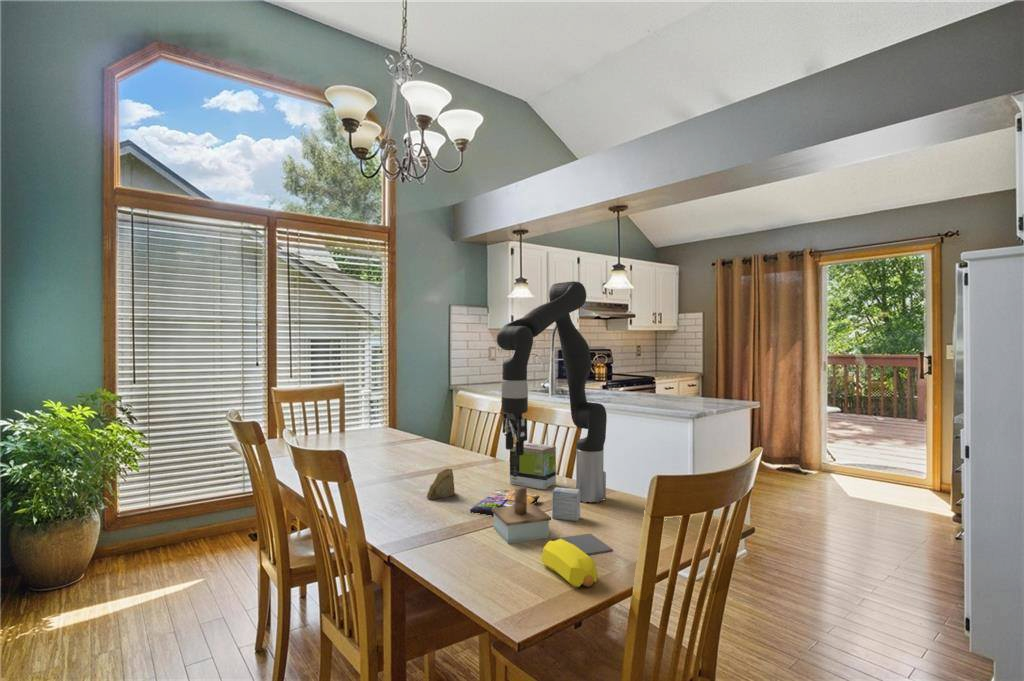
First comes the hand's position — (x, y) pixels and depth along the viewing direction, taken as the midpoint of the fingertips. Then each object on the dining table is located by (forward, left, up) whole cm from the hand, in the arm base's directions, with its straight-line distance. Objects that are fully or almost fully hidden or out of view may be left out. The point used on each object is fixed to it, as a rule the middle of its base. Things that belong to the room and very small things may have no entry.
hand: (514, 452), depth 153 cm
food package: (-4, -21, -24) cm, 32 cm away
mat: (-13, +16, -23) cm, 31 cm away
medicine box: (-19, -5, -23) cm, 30 cm away
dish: (-1, +2, -23) cm, 23 cm away
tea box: (-24, -43, -23) cm, 54 cm away
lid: (-1, +2, -18) cm, 18 cm away
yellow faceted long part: (-2, +30, -23) cm, 38 cm away
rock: (+12, -40, -23) cm, 48 cm away
